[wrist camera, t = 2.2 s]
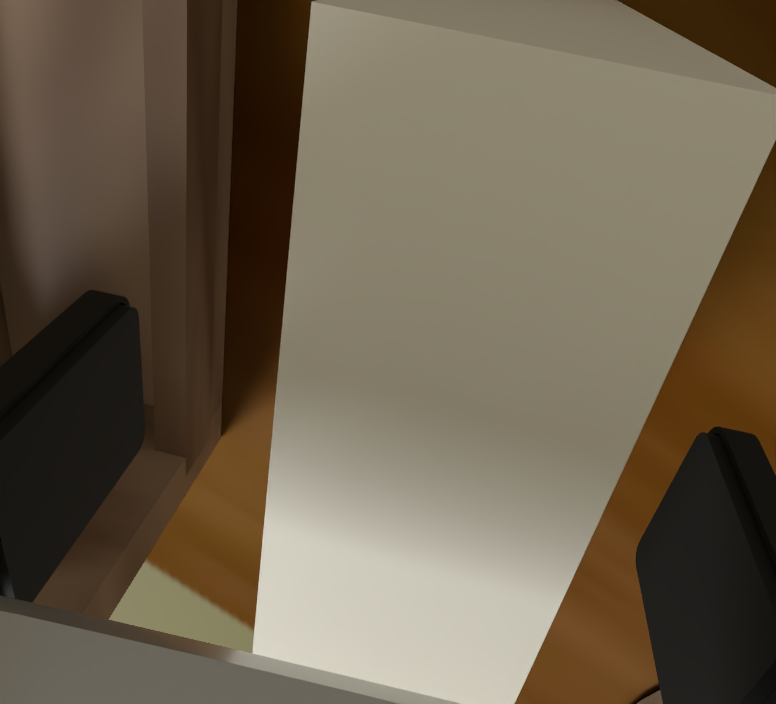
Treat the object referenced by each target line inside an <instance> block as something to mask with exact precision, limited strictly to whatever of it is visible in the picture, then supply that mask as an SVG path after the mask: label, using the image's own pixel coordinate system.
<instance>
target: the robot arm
mask: <svg viewBox="0 0 776 704" xmlns="http://www.w3.org/2000/svg"><path fill="white" fill-rule="evenodd" d="M144 435H145V419H144V401H143V382H142V364H141V346H140V327H139V314H138V311H137V309H136V308H134V307H130V303H129V301H128V299H127V298H126V297H124V296H120V295H115V294H111V293H106V292H102V291H97V290H89V291H87V292H85V293H84V294H83V295H82V296H81V297H79V298H78V299H77V300H76V301H75V302H74V303H73V304H71V305H70V306H69V307H68V308H67V309H66V310H65V311H63V312H62V313H61V314H60V315H59V316H58V317H57V318H55V319H54V320H53V321H52V322H51V323H50V324H48V325H47V326H46V327H45V328H44V329H43V330H42V331H40V332H39V333H38V334H37V335H36V336H35V337H34V338H32V339H31V340H30V341H29V342H28V343H27V344H26V345H24V346H23V347H22V348H21V349H20V350H19V351H17V352H16V353H15V354H14V355H13V356H12V357H11V358H9V359H8V360H7V361H6V362H5V363H4V364H3V365H1V366H0V704H461V703H457V702H453V701H448V700H444V699H440V698H436V697H432V696H428V695H423V694H419V693H415V692H411V691H407V690H403V689H399V688H394V687H390V686H386V685H382V684H378V683H374V682H369V681H365V680H361V679H357V678H353V677H349V676H345V675H340V674H336V673H332V672H328V671H324V670H319V669H315V668H311V667H307V666H303V665H299V664H294V663H290V662H286V661H282V660H278V659H273V658H269V657H265V656H261V655H257V654H252V653H248V652H244V651H239V650H236V649H231V648H227V647H222V646H218V645H214V644H210V643H206V642H201V641H197V640H193V639H189V638H184V637H180V636H176V635H171V634H167V633H163V632H159V631H154V630H150V629H146V628H142V627H137V626H133V625H128V624H124V623H120V622H116V621H112V620H107V619H103V618H99V617H95V616H90V615H86V614H82V613H77V612H73V611H68V610H64V609H59V608H54V607H50V606H45V605H40V604H36V603H32V602H33V601H34V600H35V598H36V597H37V595H38V594H39V593H40V591H41V590H42V588H43V587H44V585H45V584H46V583H47V581H48V580H49V578H50V577H51V576H52V574H53V573H54V571H55V570H56V568H57V567H58V566H59V564H60V563H61V561H62V560H63V558H64V557H65V556H66V554H67V553H68V551H69V550H70V548H71V547H72V546H73V544H74V543H75V541H76V540H77V539H78V537H79V536H80V534H81V533H82V531H83V530H84V529H85V527H86V526H87V524H88V523H89V521H90V520H91V519H92V517H93V516H94V514H95V513H96V512H97V510H98V509H99V507H100V506H101V504H102V503H103V502H104V500H105V499H106V497H107V496H108V494H109V493H110V492H111V490H112V489H113V487H114V486H115V484H116V483H117V482H118V480H119V479H120V477H121V476H122V475H123V473H124V472H125V470H126V469H127V467H128V466H129V465H130V463H131V462H132V460H133V459H134V457H135V456H136V455H137V453H138V452H139V450H140V448H141V446H142V443H143V440H144ZM636 568H637V573H638V578H639V583H640V588H641V593H642V598H643V604H644V609H645V614H646V619H647V624H648V629H649V635H650V640H651V645H652V650H653V655H654V660H655V665H656V671H657V676H658V681H659V686H660V690H659V691H657V692H655V693H653V694H651V695H649V696H648V697H646V698H644V699H642V700H641V701H639V702H638V703H637V704H776V475H775V473H774V471H773V469H772V467H771V465H770V463H769V461H768V459H767V457H766V455H765V452H764V450H763V448H762V446H761V444H760V442H759V440H758V439H757V437H756V436H755V435H753V434H750V433H746V432H741V431H736V430H732V429H727V428H723V427H714V428H713V429H712V430H710V432H709V433H704V432H703V433H700V434H699V435H698V436H697V437H696V438H695V440H694V442H693V444H692V446H691V448H690V449H689V451H688V453H687V455H686V457H685V459H684V460H683V462H682V464H681V466H680V468H679V470H678V472H677V473H676V475H675V477H674V479H673V481H672V483H671V485H670V486H669V488H668V490H667V492H666V494H665V496H664V497H663V499H662V501H661V503H660V505H659V507H658V509H657V510H656V512H655V514H654V516H653V518H652V520H651V521H650V523H649V525H648V527H647V529H646V531H645V533H644V534H643V536H642V538H641V540H640V542H639V544H638V547H637V552H636Z"/></svg>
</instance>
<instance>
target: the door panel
mask: <svg viewBox="0 0 776 704" xmlns="http://www.w3.org/2000/svg"><path fill="white" fill-rule="evenodd" d="M775 140H776V88H775V87H773V86H771V85H769V84H768V83H766V82H764V81H762V80H760V79H758V78H757V77H755V76H753V75H751V74H749V73H748V72H746V71H744V70H742V69H740V68H739V67H737V66H735V65H733V64H731V63H729V62H728V61H726V60H724V59H722V58H720V57H719V56H717V55H715V54H713V53H711V52H710V51H708V50H706V49H704V48H702V47H700V46H699V45H697V44H695V43H693V42H691V41H690V40H688V39H686V38H684V37H682V36H681V35H679V34H677V33H675V32H673V31H672V30H670V29H668V28H666V27H664V26H662V25H661V24H659V23H657V22H655V21H653V20H652V19H650V18H648V17H646V16H644V15H643V14H641V13H639V12H637V11H635V10H633V9H632V8H630V7H628V6H626V5H624V4H623V3H621V2H619V1H617V0H316V1H312V2H311V13H310V24H309V35H308V46H307V57H306V68H305V79H304V90H303V101H302V112H301V123H300V134H299V145H298V156H297V167H296V178H295V189H294V200H293V211H292V222H291V233H290V245H289V256H288V267H287V278H286V289H285V300H284V311H283V322H282V333H281V344H280V355H279V366H278V377H277V388H276V399H275V410H274V421H273V432H272V443H271V454H270V465H269V476H268V487H267V498H266V509H265V520H264V531H263V542H262V553H261V564H260V576H259V587H258V598H257V609H256V620H255V631H254V642H253V653H252V654H257V655H261V656H265V657H269V658H273V659H278V660H282V661H286V662H290V663H294V664H299V665H303V666H307V667H311V668H315V669H319V670H324V671H328V672H332V673H336V674H340V675H345V676H349V677H353V678H357V679H361V680H365V681H369V682H374V683H378V684H382V685H386V686H390V687H394V688H399V689H403V690H407V691H411V692H415V693H419V694H423V695H428V696H432V697H436V698H440V699H444V700H448V701H453V702H457V703H461V704H515V701H516V699H517V697H518V695H519V693H520V691H521V688H522V686H523V684H524V682H525V680H526V678H527V675H528V673H529V671H530V669H531V667H532V665H533V663H534V660H535V658H536V656H537V654H538V652H539V650H540V647H541V645H542V643H543V641H544V639H545V637H546V634H547V632H548V630H549V628H550V626H551V624H552V622H553V619H554V617H555V615H556V613H557V611H558V609H559V606H560V604H561V602H562V600H563V598H564V596H565V593H566V591H567V589H568V587H569V585H570V583H571V581H572V578H573V576H574V574H575V572H576V570H577V568H578V565H579V563H580V561H581V559H582V557H583V555H584V552H585V550H586V548H587V546H588V544H589V542H590V540H591V537H592V535H593V533H594V531H595V529H596V527H597V524H598V522H599V520H600V518H601V516H602V514H603V511H604V509H605V507H606V505H607V503H608V501H609V499H610V496H611V494H612V492H613V490H614V488H615V486H616V483H617V481H618V479H619V477H620V475H621V473H622V470H623V468H624V466H625V464H626V462H627V460H628V458H629V455H630V453H631V451H632V449H633V447H634V445H635V442H636V440H637V438H638V436H639V434H640V432H641V429H642V427H643V425H644V423H645V421H646V419H647V417H648V414H649V412H650V410H651V408H652V406H653V404H654V401H655V399H656V397H657V395H658V393H659V391H660V388H661V386H662V384H663V382H664V380H665V378H666V376H667V373H668V371H669V369H670V367H671V365H672V363H673V360H674V358H675V356H676V354H677V352H678V350H679V347H680V345H681V343H682V341H683V339H684V337H685V335H686V332H687V330H688V328H689V326H690V324H691V322H692V319H693V317H694V315H695V313H696V311H697V309H698V306H699V304H700V302H701V300H702V298H703V296H704V294H705V291H706V289H707V287H708V285H709V283H710V281H711V278H712V276H713V274H714V272H715V270H716V268H717V265H718V263H719V261H720V259H721V257H722V255H723V253H724V250H725V248H726V246H727V244H728V242H729V240H730V237H731V235H732V233H733V231H734V229H735V227H736V224H737V222H738V220H739V218H740V216H741V214H742V212H743V209H744V207H745V205H746V203H747V201H748V199H749V196H750V194H751V192H752V190H753V188H754V186H755V183H756V181H757V179H758V177H759V175H760V173H761V171H762V168H763V166H764V164H765V162H766V160H767V158H768V155H769V153H770V151H771V149H772V147H773V145H774V142H775Z"/></svg>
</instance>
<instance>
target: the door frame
mask: <svg viewBox="0 0 776 704" xmlns="http://www.w3.org/2000/svg"><path fill="white" fill-rule="evenodd" d="M237 4H238V0H0V366H1V365H3V364H4V363H5V362H6V361H7V360H8V359H9V358H11V357H12V356H13V355H14V354H15V353H16V352H17V351H19V350H20V349H21V348H22V347H23V346H24V345H26V344H27V343H28V342H29V341H30V340H31V339H32V338H34V337H35V336H36V335H37V334H38V333H39V332H40V331H42V330H43V329H44V328H45V327H46V326H47V325H48V324H50V323H51V322H52V321H53V320H54V319H55V318H57V317H58V316H59V315H60V314H61V313H62V312H63V311H65V310H66V309H67V308H68V307H69V306H70V305H71V304H73V303H74V302H75V301H76V300H77V299H78V298H79V297H81V296H82V295H83V294H84V293H85V292H87V291H89V290H97V291H102V292H106V293H111V294H115V295H120V296H124V297H126V298H127V299H128V301H129V303H130V307H134V308H136V309H137V311H138V314H139V327H140V346H141V364H142V382H143V401H144V419H145V435H144V440H143V443H142V446H141V448H140V450H139V452H138V453H137V455H136V456H135V457H134V459H133V460H132V462H131V463H130V465H129V466H128V467H127V469H126V470H125V472H124V473H123V475H122V476H121V477H120V479H119V480H118V482H117V483H116V484H115V486H114V487H113V489H112V490H111V492H110V493H109V494H108V496H107V497H106V499H105V500H104V502H103V503H102V504H101V506H100V507H99V509H98V510H97V512H96V513H95V514H94V516H93V517H92V519H91V520H90V521H89V523H88V524H87V526H86V527H85V529H84V530H83V531H82V533H81V534H80V536H79V537H78V539H77V540H76V541H75V543H74V544H73V546H72V547H71V548H70V550H69V551H68V553H67V554H66V556H65V557H64V558H63V560H62V561H61V563H60V564H59V566H58V567H57V568H56V570H55V571H54V573H53V574H52V576H51V577H50V578H49V580H48V581H47V583H46V584H45V585H44V587H43V588H42V590H41V591H40V593H39V594H38V595H37V597H36V598H35V600H34V601H33V602H32V603H36V604H40V605H45V606H50V607H54V608H59V609H64V610H68V611H73V612H77V613H82V614H86V615H90V616H95V617H99V618H103V619H107V620H108V619H109V618H110V616H111V615H112V613H113V611H114V610H115V608H116V607H117V605H118V603H119V602H120V600H121V598H122V597H123V595H124V594H125V592H126V590H127V589H128V587H129V586H130V584H131V582H132V581H133V579H134V577H135V576H136V574H137V573H138V571H139V569H140V568H141V566H142V564H143V563H144V561H145V560H146V558H147V556H148V555H149V553H150V552H151V550H152V548H153V547H154V545H155V544H156V542H157V540H158V539H159V537H160V535H161V534H162V532H163V531H164V529H165V527H166V526H167V524H168V523H169V521H170V519H171V518H172V516H173V514H174V513H175V511H176V510H177V508H178V506H179V505H180V503H181V502H182V500H183V498H184V497H185V495H186V493H187V492H188V490H189V489H190V487H191V485H192V484H193V482H194V481H195V479H196V477H197V476H198V474H199V472H200V471H201V469H202V468H203V466H204V464H205V463H206V461H207V460H208V458H209V456H210V455H211V453H212V451H213V450H214V448H215V447H216V445H217V443H218V442H219V440H220V439H221V419H222V393H223V367H224V341H225V315H226V289H227V263H228V237H229V211H230V185H231V159H232V133H233V107H234V81H235V56H236V30H237Z"/></svg>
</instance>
